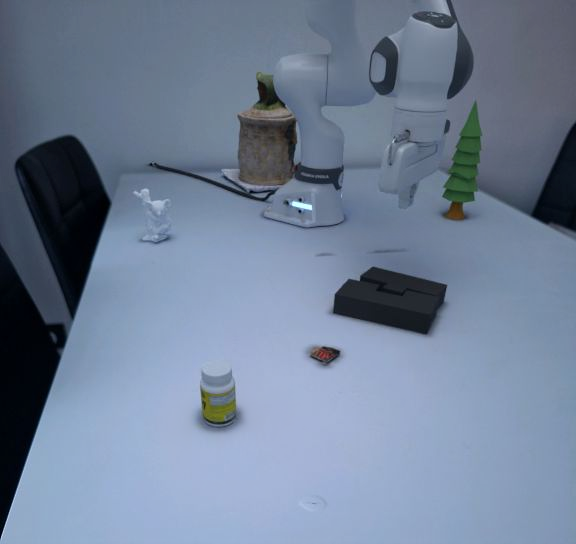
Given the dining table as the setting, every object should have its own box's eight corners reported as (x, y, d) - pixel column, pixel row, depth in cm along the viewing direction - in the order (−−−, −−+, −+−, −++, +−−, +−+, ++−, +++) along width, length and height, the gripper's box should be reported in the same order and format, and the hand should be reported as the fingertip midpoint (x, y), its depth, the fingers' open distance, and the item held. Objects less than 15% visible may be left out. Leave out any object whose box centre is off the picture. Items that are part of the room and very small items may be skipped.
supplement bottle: (203, 407, 76) (199, 357, 72) (236, 406, 77) (234, 357, 72) (202, 428, 73) (197, 377, 68) (236, 427, 73) (234, 376, 68)
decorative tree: (435, 218, 151) (457, 99, 134) (440, 209, 158) (461, 95, 141) (470, 223, 148) (497, 101, 131) (474, 213, 155) (500, 97, 138)
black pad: (352, 298, 107) (354, 279, 105) (370, 284, 113) (372, 266, 111) (428, 319, 100) (432, 300, 98) (443, 303, 106) (447, 284, 104)
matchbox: (341, 351, 90) (341, 348, 89) (331, 366, 86) (331, 363, 86) (315, 344, 91) (316, 342, 91) (304, 359, 87) (304, 356, 87)
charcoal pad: (333, 313, 101) (334, 293, 99) (347, 296, 107) (348, 278, 105) (426, 334, 95) (430, 314, 93) (435, 315, 101) (439, 296, 99)
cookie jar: (248, 194, 166) (246, 76, 147) (219, 176, 183) (214, 68, 165) (317, 186, 175) (323, 75, 157) (283, 169, 193) (285, 67, 175)
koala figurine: (135, 243, 129) (128, 192, 122) (145, 233, 135) (138, 185, 128) (169, 245, 129) (164, 194, 122) (177, 235, 134) (172, 186, 127)
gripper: (410, 139, 84) (397, 225, 92) (455, 120, 97) (440, 196, 106) (374, 133, 86) (365, 217, 95) (422, 116, 100) (411, 191, 108)
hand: (405, 206), depth 100 cm, fingers closed
